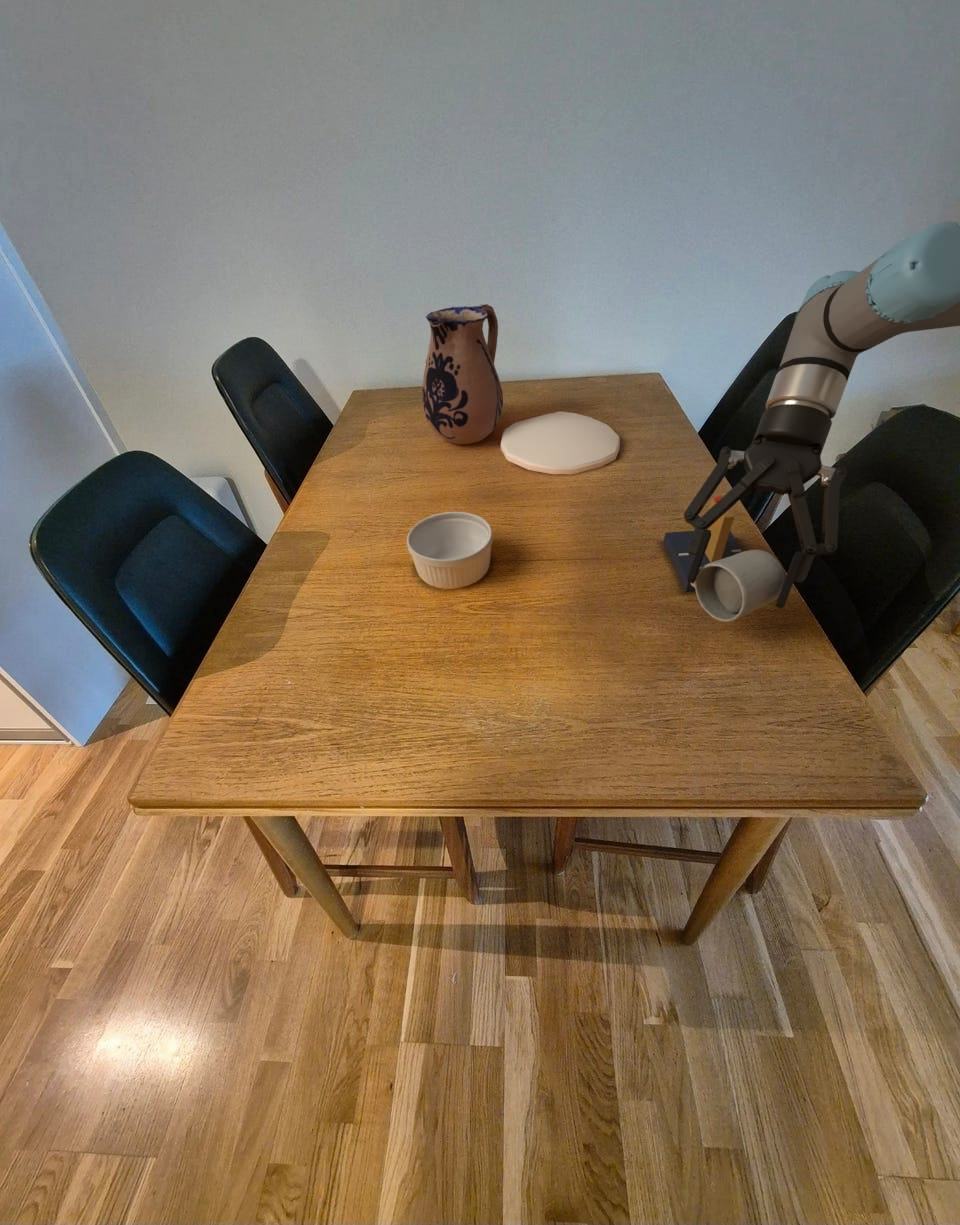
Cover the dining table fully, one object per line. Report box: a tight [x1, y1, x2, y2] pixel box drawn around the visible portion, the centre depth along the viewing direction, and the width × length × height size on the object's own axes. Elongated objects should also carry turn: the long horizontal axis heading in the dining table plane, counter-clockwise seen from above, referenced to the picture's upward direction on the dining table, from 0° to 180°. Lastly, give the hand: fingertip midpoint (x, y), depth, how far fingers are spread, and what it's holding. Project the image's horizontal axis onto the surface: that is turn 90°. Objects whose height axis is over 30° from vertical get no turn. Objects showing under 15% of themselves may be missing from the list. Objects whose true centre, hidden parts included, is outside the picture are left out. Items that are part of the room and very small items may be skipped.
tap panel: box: [662, 530, 745, 593], centre depth 81 cm, size 12×10×3 cm
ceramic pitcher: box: [422, 303, 504, 445], centre depth 114 cm, size 18×21×25 cm
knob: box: [705, 496, 735, 563], centre depth 77 cm, size 5×1×8 cm, turn 1°
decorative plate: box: [500, 410, 621, 475], centre depth 112 cm, size 25×4×25 cm
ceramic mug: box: [691, 549, 787, 623], centre depth 67 cm, size 11×8×8 cm
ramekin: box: [406, 511, 494, 590], centre depth 84 cm, size 13×13×7 cm
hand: (733, 593), depth 65 cm, fingers closed on ceramic mug, 10 cm apart
